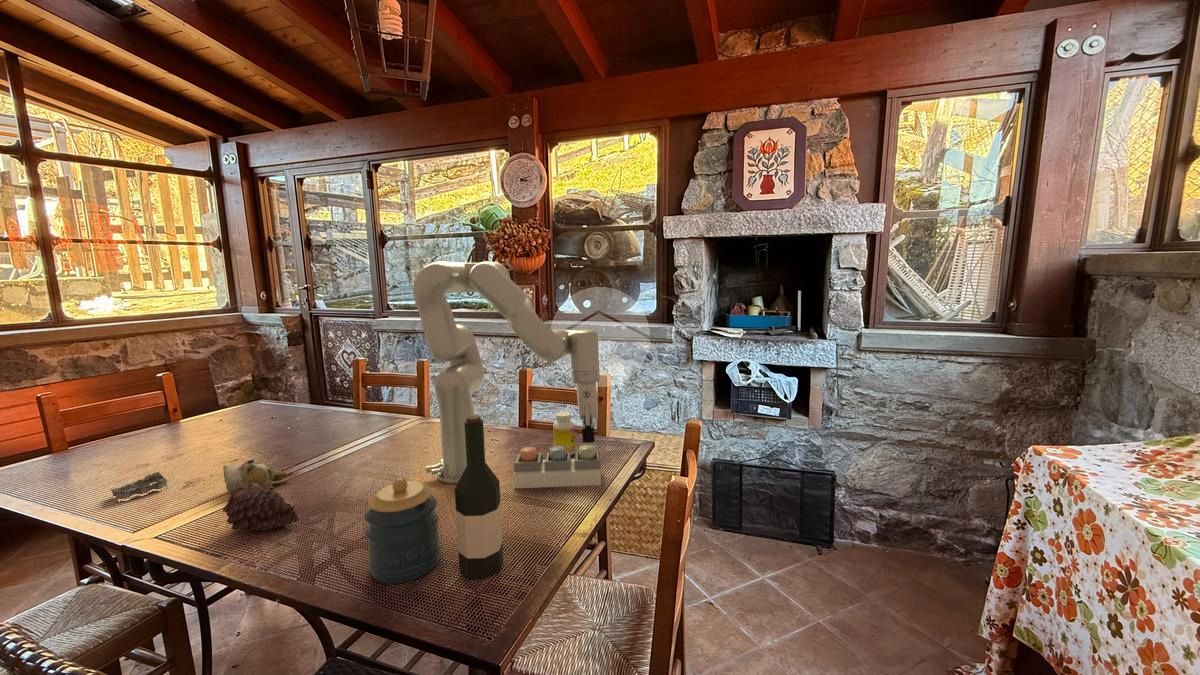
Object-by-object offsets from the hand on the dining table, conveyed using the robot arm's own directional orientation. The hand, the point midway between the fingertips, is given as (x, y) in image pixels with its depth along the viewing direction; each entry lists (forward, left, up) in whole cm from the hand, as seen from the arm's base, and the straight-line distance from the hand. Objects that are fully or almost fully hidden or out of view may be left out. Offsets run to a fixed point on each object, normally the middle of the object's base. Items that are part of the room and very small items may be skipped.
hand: (588, 441), depth 128 cm
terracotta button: (-15, +7, -5) cm, 17 cm away
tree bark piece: (-109, +52, -11) cm, 121 cm away
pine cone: (-77, +14, -11) cm, 79 cm away
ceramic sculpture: (-82, +39, -11) cm, 91 cm away
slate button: (-8, +4, -5) cm, 10 cm away
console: (-8, +4, -11) cm, 14 cm away
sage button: (0, 0, -5) cm, 5 cm away
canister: (-49, -17, -11) cm, 53 cm away
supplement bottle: (+1, +21, -11) cm, 23 cm away
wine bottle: (-36, -25, -11) cm, 45 cm away
